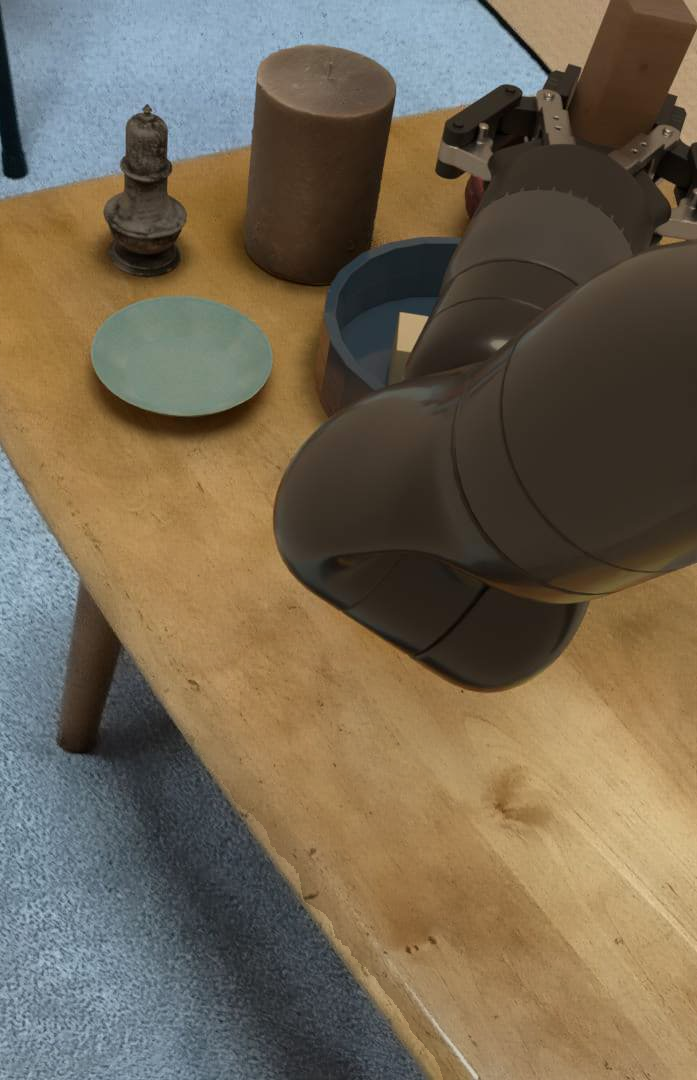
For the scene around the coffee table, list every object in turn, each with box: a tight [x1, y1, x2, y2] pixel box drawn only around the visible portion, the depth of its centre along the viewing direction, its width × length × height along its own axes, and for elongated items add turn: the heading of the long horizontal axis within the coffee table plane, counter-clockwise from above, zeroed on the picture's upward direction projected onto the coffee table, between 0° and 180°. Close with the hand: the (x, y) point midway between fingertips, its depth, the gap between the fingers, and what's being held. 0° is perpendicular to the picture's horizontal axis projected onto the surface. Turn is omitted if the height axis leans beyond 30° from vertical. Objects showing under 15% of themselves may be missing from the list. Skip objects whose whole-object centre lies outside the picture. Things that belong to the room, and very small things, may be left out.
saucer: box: [90, 295, 274, 418], centre depth 82 cm, size 12×12×2 cm
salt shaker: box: [102, 103, 188, 278], centre depth 86 cm, size 6×6×12 cm
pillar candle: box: [243, 43, 397, 286], centre depth 88 cm, size 10×10×15 cm
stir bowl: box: [314, 236, 462, 419], centre depth 84 cm, size 20×20×6 cm
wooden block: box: [567, 0, 697, 249], centre depth 62 cm, size 7×3×15 cm, turn 95°
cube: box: [388, 312, 428, 386], centre depth 83 cm, size 4×4×4 cm
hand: (616, 97), depth 63 cm, fingers closed on wooden block, 4 cm apart
